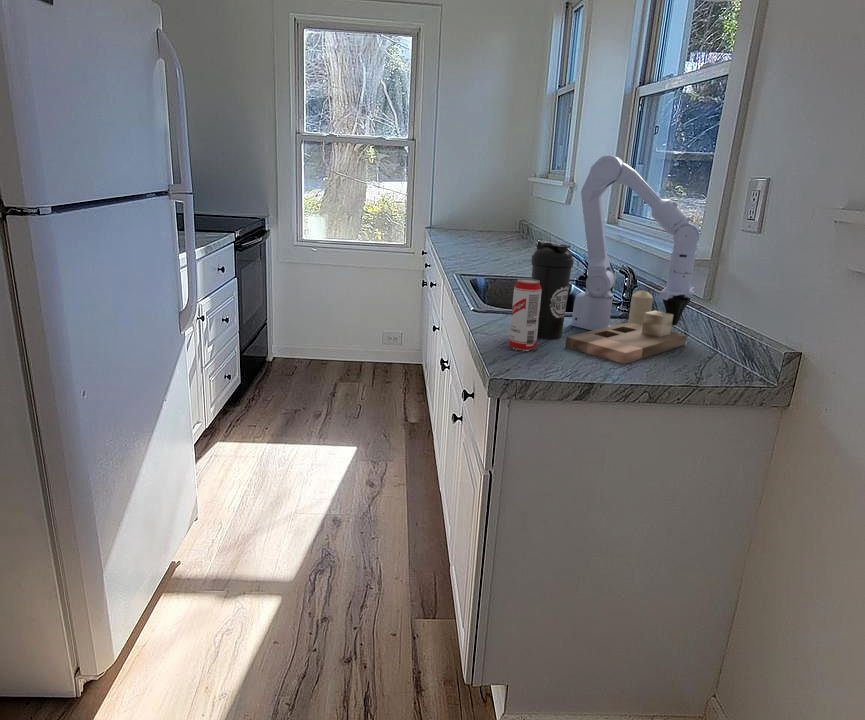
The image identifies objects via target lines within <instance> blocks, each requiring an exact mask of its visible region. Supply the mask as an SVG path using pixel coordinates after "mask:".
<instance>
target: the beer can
mask: <svg viewBox="0 0 865 720" xmlns="http://www.w3.org/2000/svg"><path fill="white" fill-rule="evenodd" d="M516 281H517V282H516V283H515V284H514V288H513V296H512V307H511V318H510V327H509V328H510V329H509V330H510V331H509V337H508V338H509V341H508V344H509V346H510V348H511V349H512V348H514V349H517V350H525V351H526V350H532V349H533V350H535V348H536V347H537V341H538V338H537V332H538V322H539V312H540V302H541V292H542V289H541V286H540V281H539V280H535V279H532V278H518V279H517V280H516ZM514 349H513V350H514ZM517 350H516V351H517ZM533 350H532V351H533Z"/></svg>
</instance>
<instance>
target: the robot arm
mask: <svg viewBox="0 0 865 720" xmlns="http://www.w3.org/2000/svg"><path fill="white" fill-rule="evenodd" d="M614 183H616V184H618V185H623V186H626V187H629V189H631V190H632V191H633V192H634V193H635V194H636V195H637V196H639V198H640V199H641V200H643V202H645V204H646V205H648V206H649V208H651V214H650V215H651V218H653V220H654V221H655V222H656V223H657V224H658V226H660V227H661V228H662V229H663V230H664V231H665V232H666V233H667V234H668V235H672V239H673V249H672V252H671V255H670V260H669V266H668V272H667V273H668V274H667V280H666V287H664V289H662V290H660V291H659V297H658V299H659V300H662V303H663V305H664V308H665V313H669V314H673V320H672V326H678V324H679V321H680V319H681V317H682V314H683V312H684V311H685V308H686V307H687V306H688V304H690V302H691V297H687V295H690V296H693V295H694V294H695V288H696V287H695V286H692V280H693V276H694V275H693V274H694V269H695V261H696V257H697V255H696V253H697V249H698V248H697V243H698V242H699V240H700V229H699V227H698V226H697V224H696V223H695V222H693V221H691V220H692V218H691V217H690V216H687V215H686V214H685V213H684V212H682V210H681V209H680V208H679V207H678V206H679V203H678V202H676V200H674V201H673V200H671V199H669V198H667V199H665V198H664V199H662V198H661V197H660V196H659V194H657V192H656V191H655V190H654V189H653V188H652V187H651V186H650V185H649V184H648V183H647V182H646V181H645V179H644V178H643V177H642V175H640V174H639V173H638V171H636V170H635V169H634V168H632V166H630V165H628V164H627V163H625V162H624V161H623V159H622V158H620V157H618V156H615V155H611V154H610V155H607V154H606V155H603V156H601V157H599V159H598V160H597V161H596V162H595V163H594V164H592V166H590V169H589V172H588V174H587V177H586V179H585V181H584V183H583V185H582V188H581V191H580V196H581V204H582V213H583V220H584V221H583V222H584V231H585V240H586V249H587V256H588V265H587V278H586V280H585V287H586V290H585V291H582V292H579V293H578V294H577V295H576V297H575V299H574V302H573V307H572V308H573V309H572V319H571V322H570V323H569V325H570V326H573V327H577V328H580V329H584V330H589V331H593V330H597V329H602V328H606V327H610V326H611V325H610V322H611V313H612V305H613V299H614V294H613V292H612V290H611V289H612V288H613V287H614V285H615V284H616V283H615V282H616V276H615V273H614V271H612V268H611V263H610V260H609V257H608V248H607V241H606V240H607V239H606V230H605V223H604V222H605V220H604V213H603V212H604V211H603V203H602V196H603V194H605V192H606V191H607V189H608V188H610V186H611V185H613V184H614Z"/></svg>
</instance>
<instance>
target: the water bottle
mask: <svg viewBox="0 0 865 720" xmlns="http://www.w3.org/2000/svg"><path fill="white" fill-rule="evenodd" d="M569 248H570V249H571V245H569V244H553V243H552V242H551V241H541V242H538V243H537V244H536V250H535V251H534V252H533V254H532V255H531V261H530V262H531V265H532V267H531V269H532V270H531V279H535V280H539V281H540V286H541V289H542V292H541V302H540V312H539V322H538V332H537V339H541V338H543V340H558V339H560V338H562V335H563V330H564V329H563V328H564V321H565V313H566V309H567V301H568V296H569V287H570V279H571V273H572V268H573V266H574V262H575V261H574V260H575V259H574V257H573V255H572V253H571V251H569V250H568V249H569Z"/></svg>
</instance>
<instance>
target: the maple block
mask: <svg viewBox="0 0 865 720" xmlns="http://www.w3.org/2000/svg"><path fill="white" fill-rule="evenodd" d="M672 320H673V314H669V313H666V312H664V311H659V310H651V311H650V312H646V313H645V314H644V321H643V327H642V333H646V334H650V335H655V336H659V337H662V336H665V335H669V334H670V333H671V332H672V326H673V325H672Z"/></svg>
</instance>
